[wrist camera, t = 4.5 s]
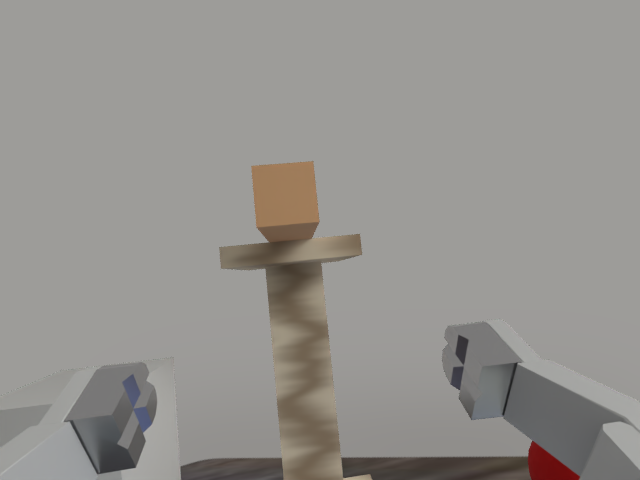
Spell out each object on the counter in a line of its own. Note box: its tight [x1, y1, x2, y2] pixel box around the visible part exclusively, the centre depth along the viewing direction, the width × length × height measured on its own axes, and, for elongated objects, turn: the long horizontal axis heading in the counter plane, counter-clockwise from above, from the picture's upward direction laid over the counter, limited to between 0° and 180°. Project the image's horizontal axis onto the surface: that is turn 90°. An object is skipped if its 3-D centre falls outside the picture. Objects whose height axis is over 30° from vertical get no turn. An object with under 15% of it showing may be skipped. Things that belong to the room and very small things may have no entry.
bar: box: [252, 161, 319, 242], centre depth 26 cm, size 3×20×3 cm, turn 4°
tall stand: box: [220, 234, 372, 480], centre depth 30 cm, size 12×14×26 cm
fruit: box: [528, 441, 580, 480], centre depth 28 cm, size 9×9×10 cm
